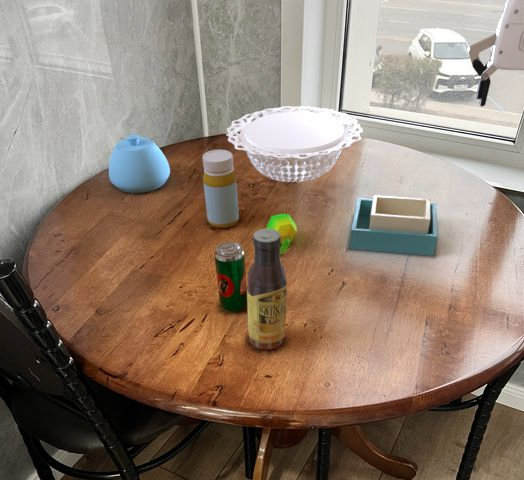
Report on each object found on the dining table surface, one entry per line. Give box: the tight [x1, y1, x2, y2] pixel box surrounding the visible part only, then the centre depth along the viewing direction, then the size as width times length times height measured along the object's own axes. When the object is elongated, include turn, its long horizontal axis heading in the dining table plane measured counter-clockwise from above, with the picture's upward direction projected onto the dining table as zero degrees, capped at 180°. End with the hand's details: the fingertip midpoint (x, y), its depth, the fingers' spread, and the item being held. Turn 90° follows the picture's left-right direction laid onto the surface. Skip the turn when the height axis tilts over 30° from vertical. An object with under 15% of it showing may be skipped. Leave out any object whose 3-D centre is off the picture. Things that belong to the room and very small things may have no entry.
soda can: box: [213, 241, 248, 313], centre depth 94 cm, size 5×5×12 cm
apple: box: [266, 213, 298, 256], centre depth 111 cm, size 7×6×9 cm
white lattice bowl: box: [225, 105, 364, 183], centre depth 130 cm, size 32×32×13 cm
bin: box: [349, 197, 438, 257], centre depth 112 cm, size 17×14×4 cm
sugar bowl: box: [108, 133, 171, 194], centre depth 133 cm, size 15×15×12 cm
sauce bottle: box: [246, 228, 288, 351], centre depth 84 cm, size 7×6×20 cm
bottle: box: [202, 149, 240, 229], centre depth 115 cm, size 7×7×15 cm
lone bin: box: [369, 194, 431, 234], centre depth 111 cm, size 12×8×6 cm
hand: (512, 104), depth 89 cm, fingers open, 9 cm apart
